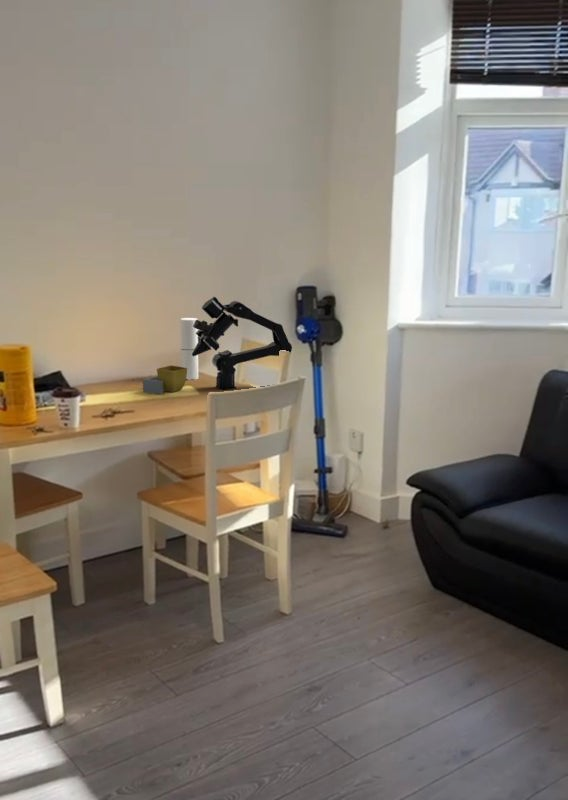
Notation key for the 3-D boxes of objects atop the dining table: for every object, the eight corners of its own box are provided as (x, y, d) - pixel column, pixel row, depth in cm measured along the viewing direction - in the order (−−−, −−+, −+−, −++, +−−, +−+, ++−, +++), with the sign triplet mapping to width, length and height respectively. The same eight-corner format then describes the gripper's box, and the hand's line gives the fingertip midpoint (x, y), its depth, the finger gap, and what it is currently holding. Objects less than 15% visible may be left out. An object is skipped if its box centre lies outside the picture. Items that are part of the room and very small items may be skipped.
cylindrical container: (179, 379, 323) (178, 319, 317) (184, 375, 330) (183, 317, 324) (195, 380, 322) (195, 320, 316) (200, 376, 329) (199, 318, 323)
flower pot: (188, 390, 304) (188, 367, 302) (173, 394, 296) (173, 371, 294) (171, 387, 308) (170, 365, 306) (156, 391, 301) (155, 368, 299)
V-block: (158, 387, 307) (158, 375, 305) (163, 394, 295) (163, 381, 294) (141, 388, 304) (140, 376, 303) (145, 395, 293) (145, 382, 292)
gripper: (200, 309, 308) (173, 337, 307) (210, 315, 291) (182, 345, 290) (219, 328, 312) (193, 356, 311) (231, 335, 295) (203, 365, 294)
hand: (192, 355), depth 302 cm, fingers closed
